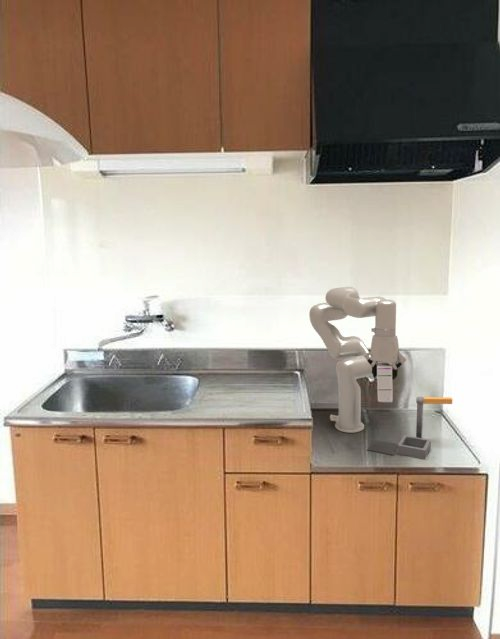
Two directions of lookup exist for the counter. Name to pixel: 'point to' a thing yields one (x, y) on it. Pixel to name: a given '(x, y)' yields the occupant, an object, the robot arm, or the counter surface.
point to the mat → (383, 447)
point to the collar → (414, 450)
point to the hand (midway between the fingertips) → (384, 376)
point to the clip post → (419, 420)
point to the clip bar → (434, 400)
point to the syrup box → (384, 382)
